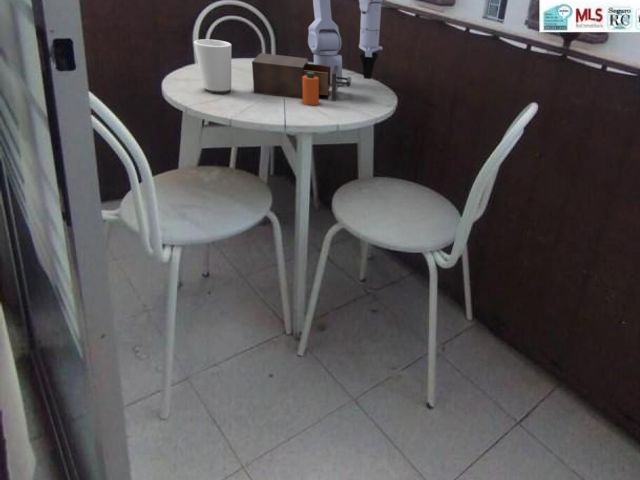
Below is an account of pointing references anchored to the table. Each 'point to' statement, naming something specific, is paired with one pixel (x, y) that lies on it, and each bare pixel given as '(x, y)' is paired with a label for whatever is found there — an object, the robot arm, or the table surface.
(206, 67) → the cup
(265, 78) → the cabinet
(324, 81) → the drawer
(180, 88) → the table surface
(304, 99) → the bottle
